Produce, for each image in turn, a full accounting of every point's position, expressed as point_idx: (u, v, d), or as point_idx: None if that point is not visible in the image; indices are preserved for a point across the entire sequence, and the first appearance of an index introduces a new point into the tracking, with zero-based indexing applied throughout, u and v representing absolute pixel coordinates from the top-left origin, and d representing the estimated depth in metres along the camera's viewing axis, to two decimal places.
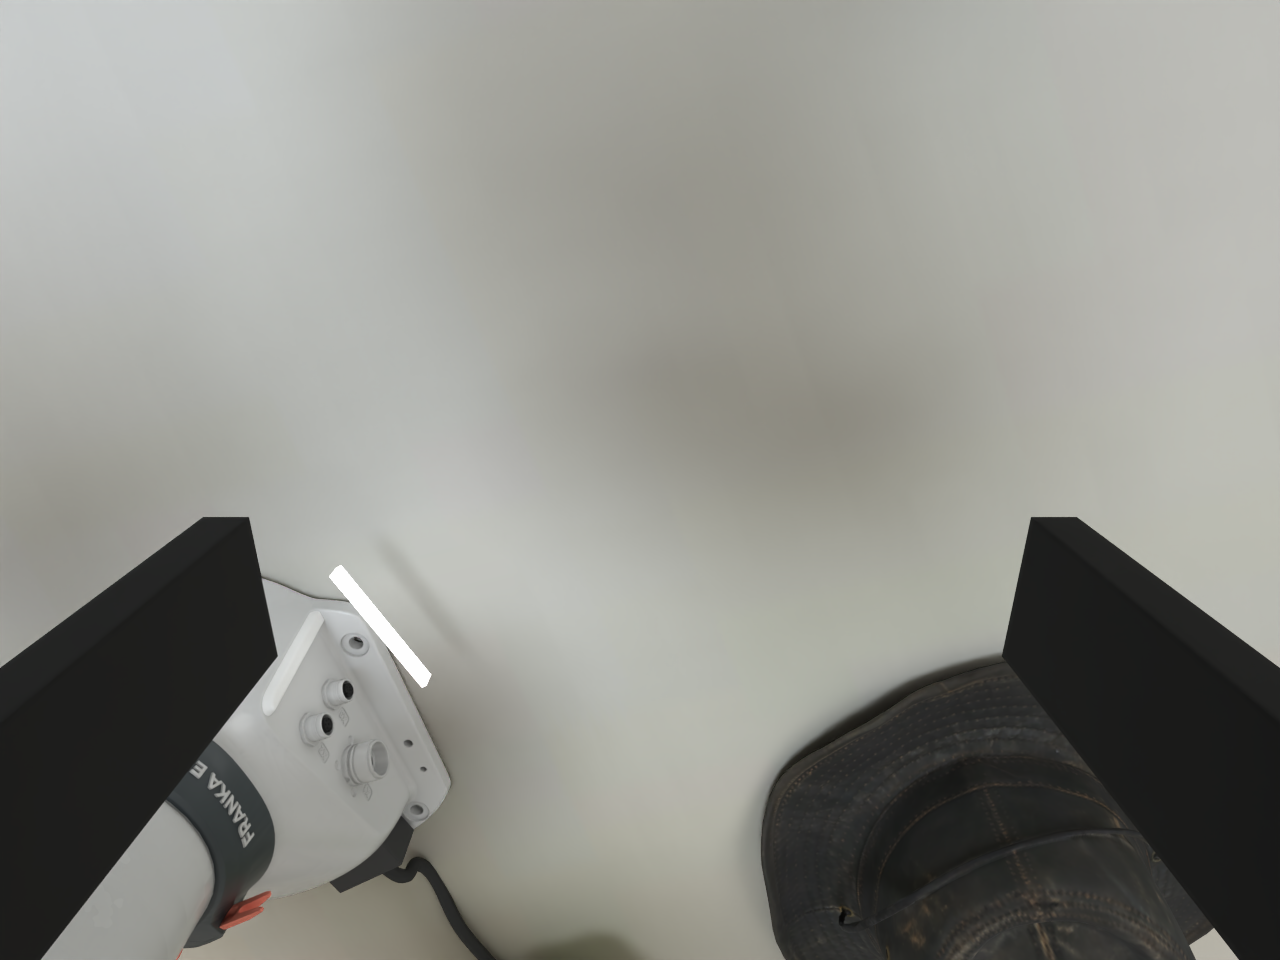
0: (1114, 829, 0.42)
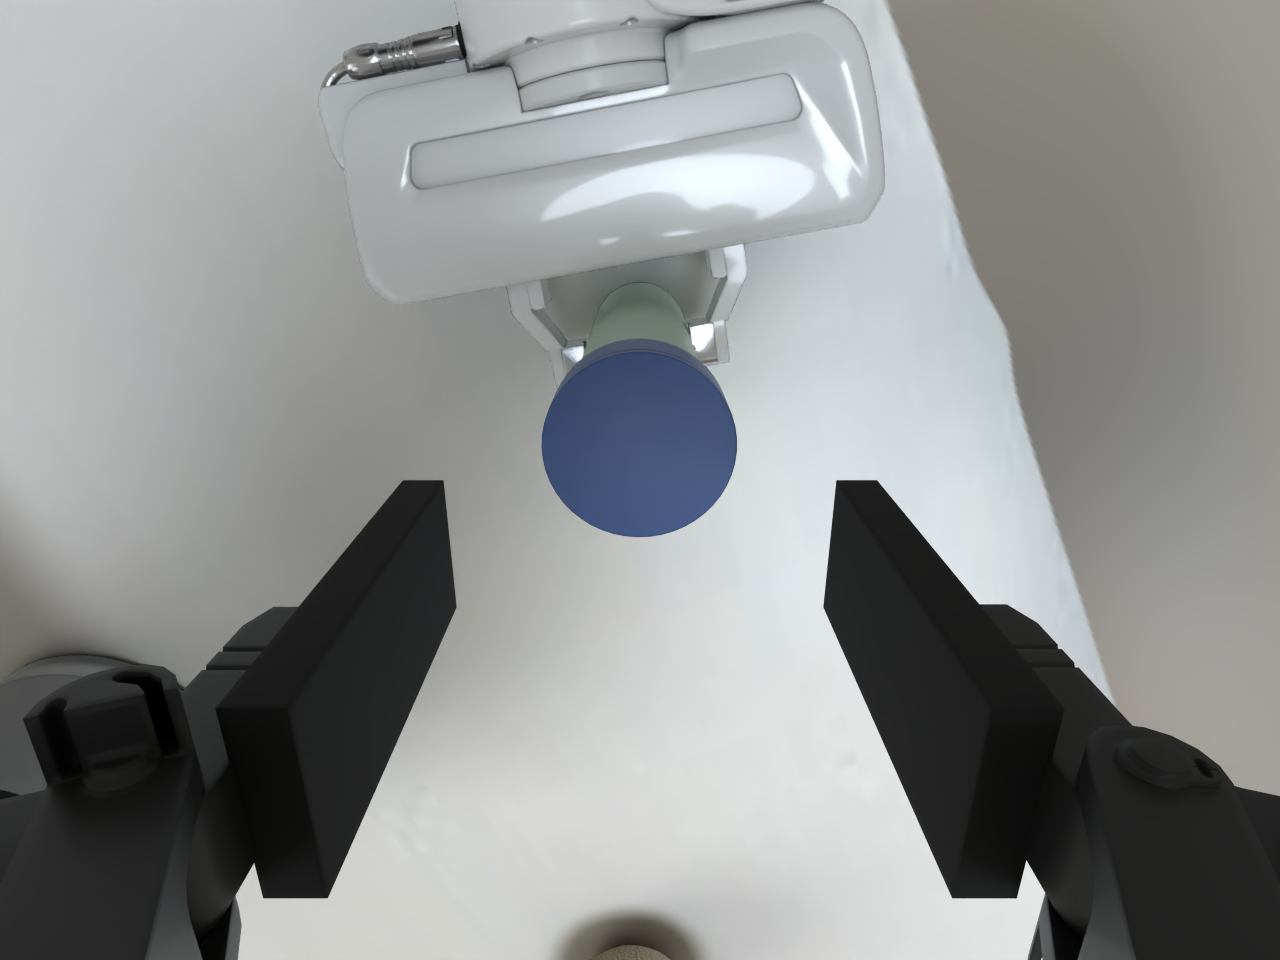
0: None
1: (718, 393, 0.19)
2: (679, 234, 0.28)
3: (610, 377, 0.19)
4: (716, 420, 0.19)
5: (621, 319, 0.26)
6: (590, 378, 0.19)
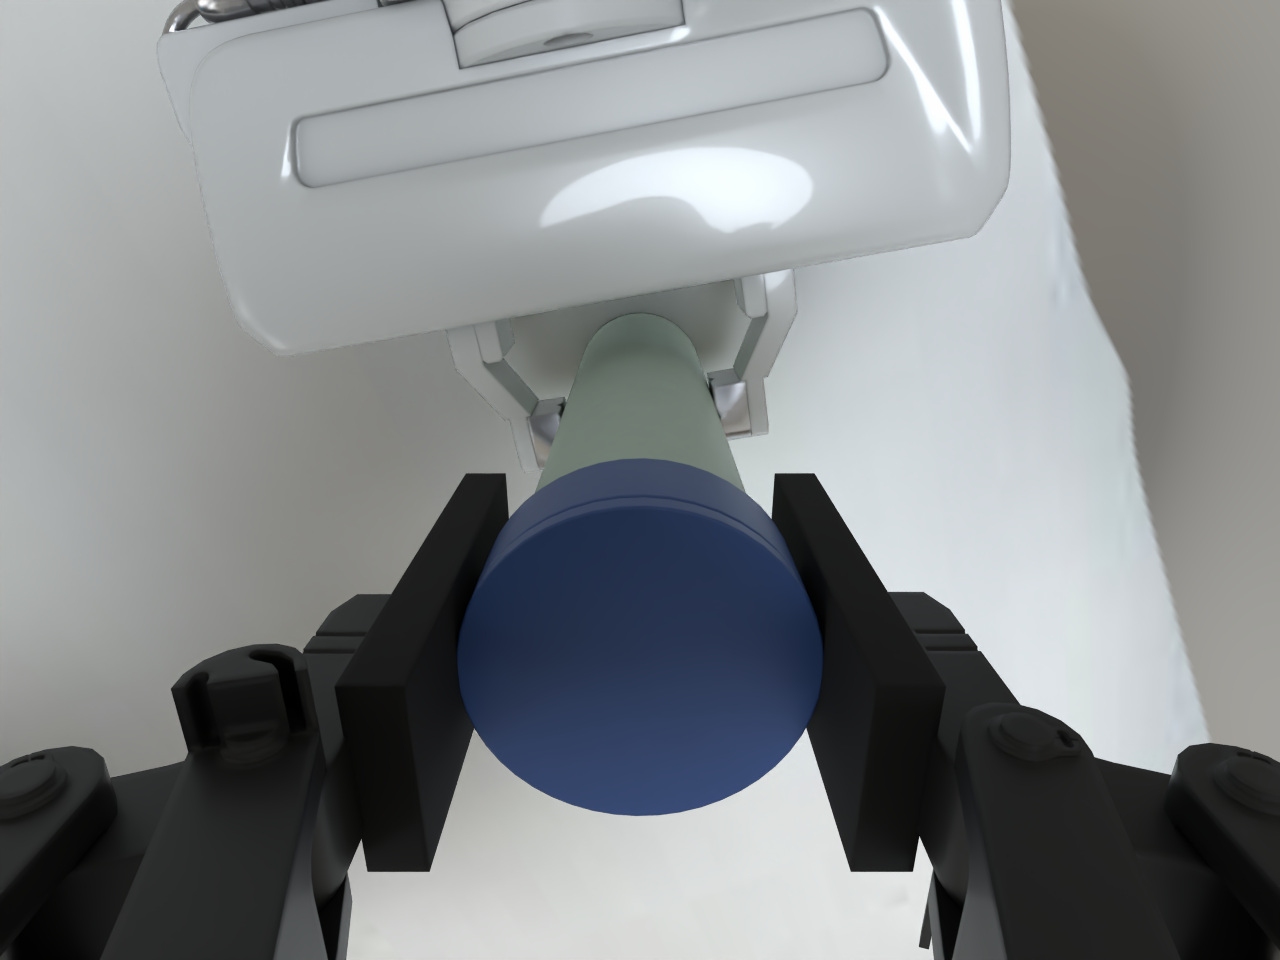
0: None
1: (793, 581, 0.10)
2: (700, 255, 0.19)
3: (584, 552, 0.10)
4: (788, 626, 0.10)
5: (612, 387, 0.17)
6: (545, 554, 0.10)
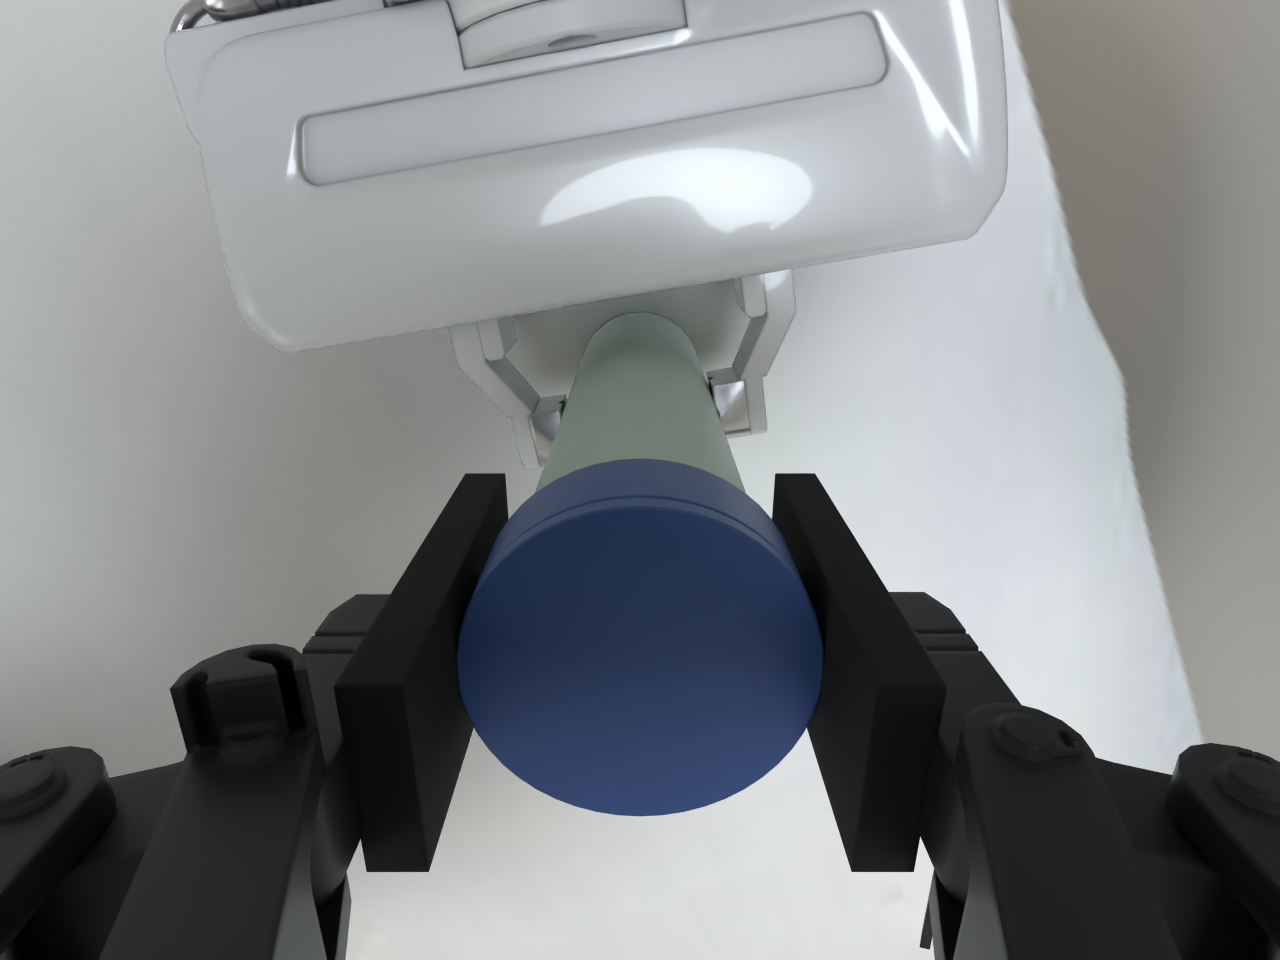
0: None
1: (562, 525, 0.10)
2: (700, 254, 0.19)
3: (495, 691, 0.10)
4: (616, 538, 0.10)
5: (613, 384, 0.17)
6: (490, 720, 0.11)
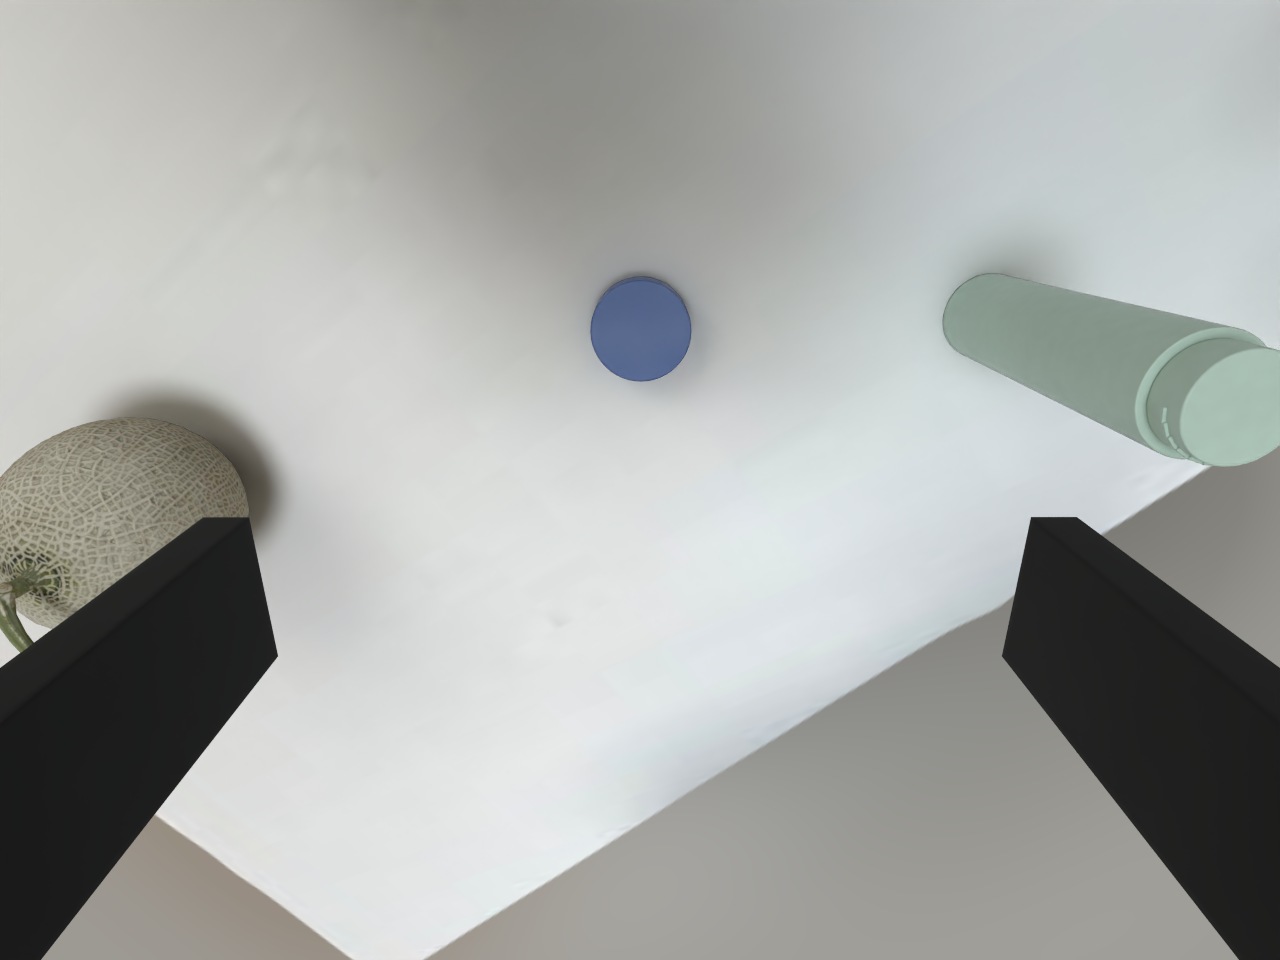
0: None
1: (620, 285, 0.37)
2: None
3: (601, 337, 0.38)
4: (634, 289, 0.37)
5: None
6: (599, 347, 0.38)
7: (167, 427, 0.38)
